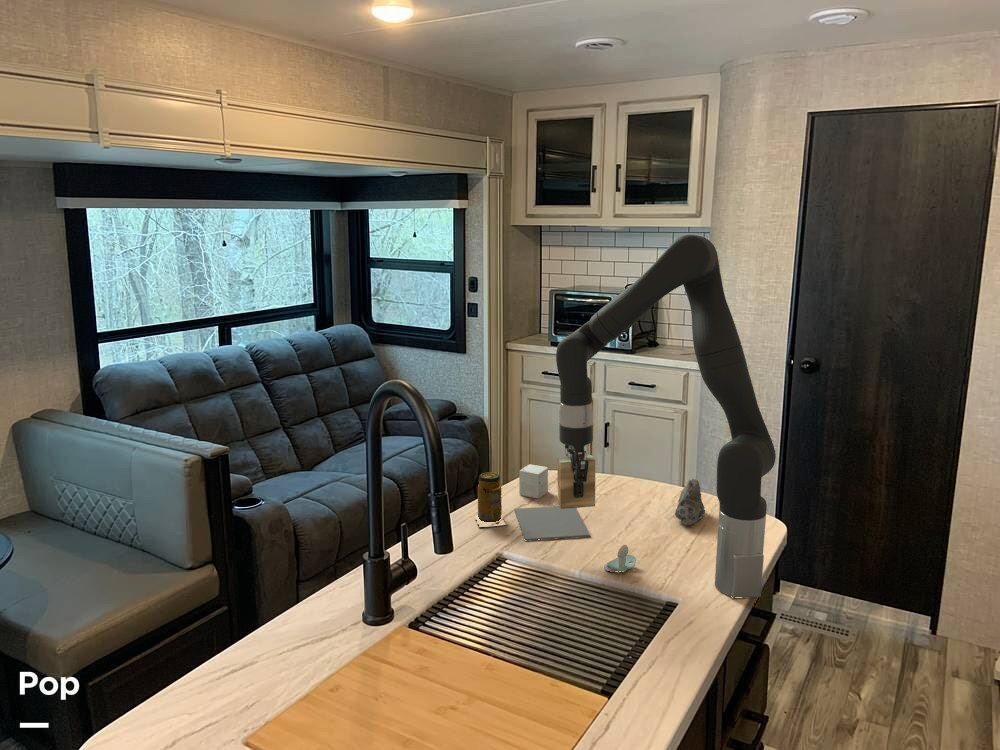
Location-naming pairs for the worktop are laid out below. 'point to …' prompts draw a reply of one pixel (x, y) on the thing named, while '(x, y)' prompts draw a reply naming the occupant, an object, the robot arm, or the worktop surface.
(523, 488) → the product box
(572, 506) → the block
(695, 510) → the mineral rock
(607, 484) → the worktop surface
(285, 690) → the worktop surface
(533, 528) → the mat
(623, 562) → the pacifier
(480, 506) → the condiment
